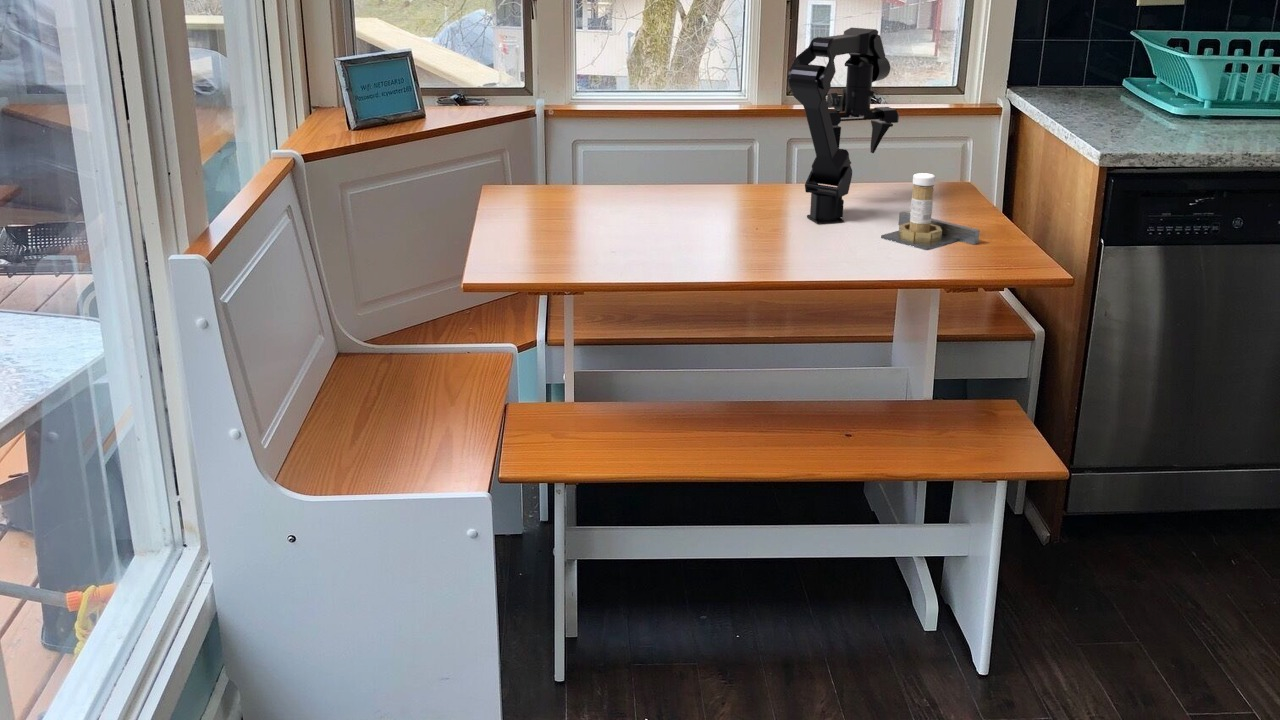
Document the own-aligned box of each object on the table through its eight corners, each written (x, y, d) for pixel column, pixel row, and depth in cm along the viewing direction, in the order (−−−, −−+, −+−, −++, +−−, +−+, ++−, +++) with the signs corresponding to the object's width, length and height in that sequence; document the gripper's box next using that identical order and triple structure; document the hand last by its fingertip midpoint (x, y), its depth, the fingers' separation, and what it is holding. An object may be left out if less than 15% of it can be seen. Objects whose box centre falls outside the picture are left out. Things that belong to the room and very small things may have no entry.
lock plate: (866, 234, 263) (867, 220, 262) (902, 224, 271) (903, 211, 270) (942, 254, 249) (943, 240, 248) (978, 243, 257) (979, 229, 256)
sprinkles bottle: (923, 233, 262) (929, 171, 257) (933, 238, 258) (939, 176, 253) (904, 234, 261) (909, 172, 256) (913, 239, 257) (919, 177, 252)
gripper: (880, 78, 283) (875, 145, 289) (806, 81, 278) (802, 149, 284) (902, 85, 273) (896, 154, 279) (826, 89, 268) (822, 158, 274)
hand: (854, 153), depth 279 cm, fingers open, 9 cm apart
